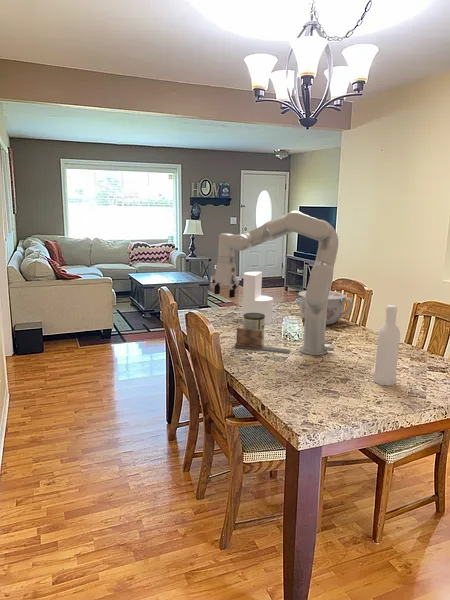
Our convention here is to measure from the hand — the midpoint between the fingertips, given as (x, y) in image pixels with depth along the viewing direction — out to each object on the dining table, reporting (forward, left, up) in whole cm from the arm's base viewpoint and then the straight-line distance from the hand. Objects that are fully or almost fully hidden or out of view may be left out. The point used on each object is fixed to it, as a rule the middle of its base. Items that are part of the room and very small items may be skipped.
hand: (224, 295), depth 213 cm
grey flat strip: (-20, +2, -23) cm, 31 cm away
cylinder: (-4, -49, -24) cm, 54 cm away
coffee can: (-14, -6, -24) cm, 28 cm away
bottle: (-74, +24, -24) cm, 81 cm away
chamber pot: (-39, -61, -24) cm, 76 cm away
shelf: (-14, +2, -23) cm, 27 cm away
